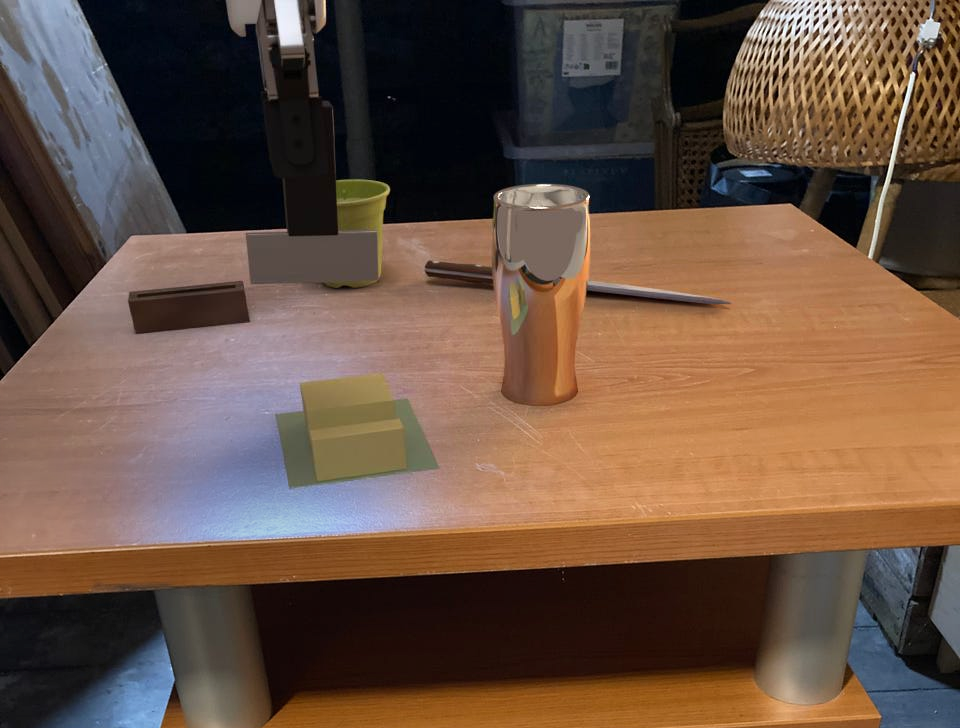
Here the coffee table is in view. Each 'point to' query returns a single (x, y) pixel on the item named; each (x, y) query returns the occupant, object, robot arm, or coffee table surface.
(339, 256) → the spatula
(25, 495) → the coffee table surface
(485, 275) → the steak knife
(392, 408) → the butter block
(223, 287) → the knife block
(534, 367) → the beer glass
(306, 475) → the butter dish
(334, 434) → the butter slice
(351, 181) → the plant pot
